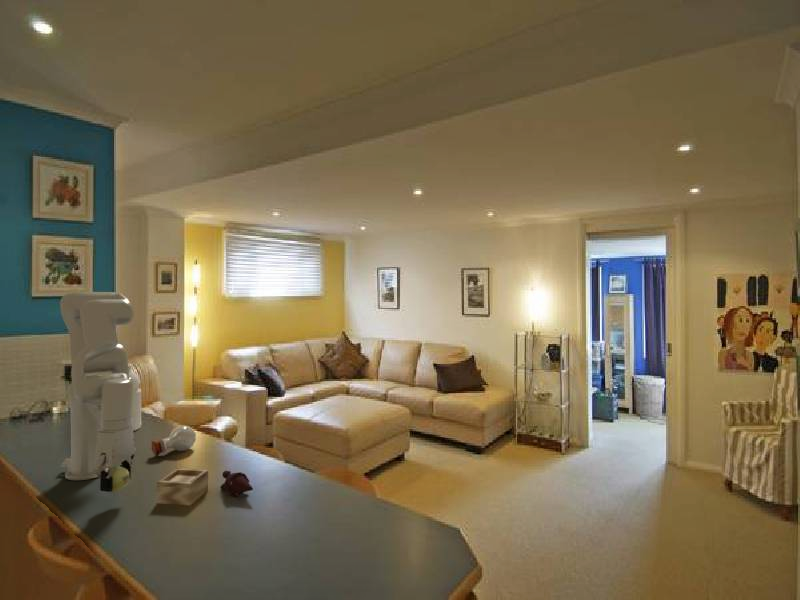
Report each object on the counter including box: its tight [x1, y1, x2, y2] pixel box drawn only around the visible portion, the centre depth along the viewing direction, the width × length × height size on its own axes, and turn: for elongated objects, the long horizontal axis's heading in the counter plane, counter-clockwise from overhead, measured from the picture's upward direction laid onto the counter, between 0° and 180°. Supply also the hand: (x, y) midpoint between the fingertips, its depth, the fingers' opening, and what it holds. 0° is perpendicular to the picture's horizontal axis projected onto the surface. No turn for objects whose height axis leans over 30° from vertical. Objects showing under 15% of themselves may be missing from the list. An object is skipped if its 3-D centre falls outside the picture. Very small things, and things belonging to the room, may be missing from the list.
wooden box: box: [156, 468, 209, 506], centre depth 136 cm, size 10×10×6 cm
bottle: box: [128, 363, 142, 432], centre depth 198 cm, size 14×14×28 cm
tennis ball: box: [107, 465, 130, 493], centre depth 130 cm, size 6×7×7 cm
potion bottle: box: [151, 425, 197, 458], centre depth 172 cm, size 9×10×15 cm
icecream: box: [219, 470, 254, 498], centre depth 138 cm, size 7×7×15 cm
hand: (115, 484), depth 130 cm, fingers closed on tennis ball, 6 cm apart
